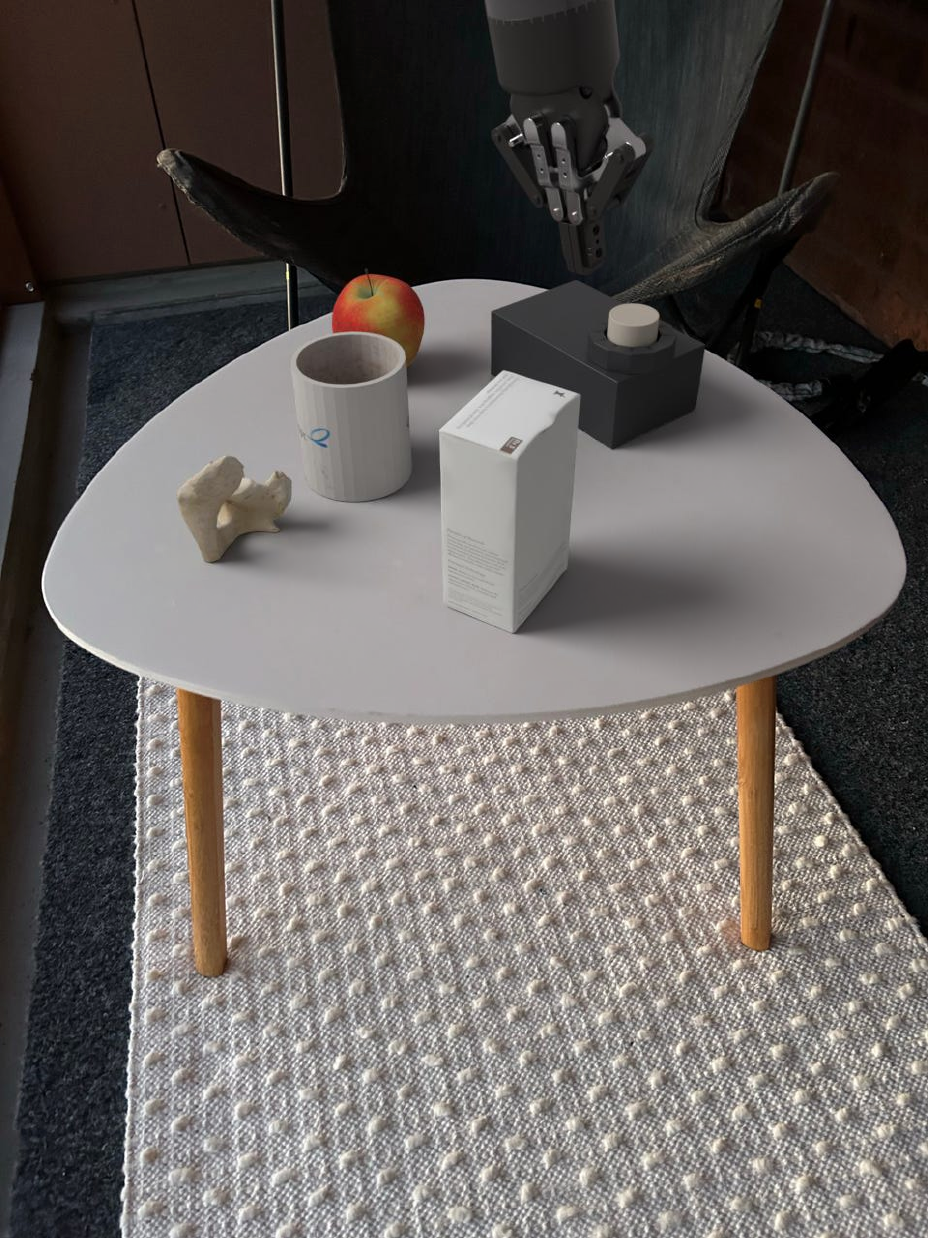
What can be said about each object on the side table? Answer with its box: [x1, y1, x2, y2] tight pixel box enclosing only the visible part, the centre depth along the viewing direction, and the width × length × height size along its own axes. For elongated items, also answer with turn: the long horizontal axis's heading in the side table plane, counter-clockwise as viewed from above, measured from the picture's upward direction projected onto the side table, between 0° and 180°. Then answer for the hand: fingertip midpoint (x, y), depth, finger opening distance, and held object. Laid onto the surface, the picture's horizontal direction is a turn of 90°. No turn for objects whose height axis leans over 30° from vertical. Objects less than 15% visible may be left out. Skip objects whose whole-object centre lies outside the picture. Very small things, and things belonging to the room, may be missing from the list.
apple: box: [331, 268, 426, 369], centre depth 96 cm, size 8×8×10 cm
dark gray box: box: [490, 279, 706, 450], centre depth 94 cm, size 17×10×8 cm, turn 37°
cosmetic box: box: [438, 371, 580, 634], centre depth 71 cm, size 8×6×15 cm
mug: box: [289, 332, 413, 503], centre depth 86 cm, size 12×9×10 cm
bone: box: [175, 454, 293, 563], centre depth 79 cm, size 9×6×10 cm
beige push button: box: [607, 303, 660, 347], centre depth 87 cm, size 4×4×2 cm
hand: (586, 268), depth 75 cm, fingers closed
